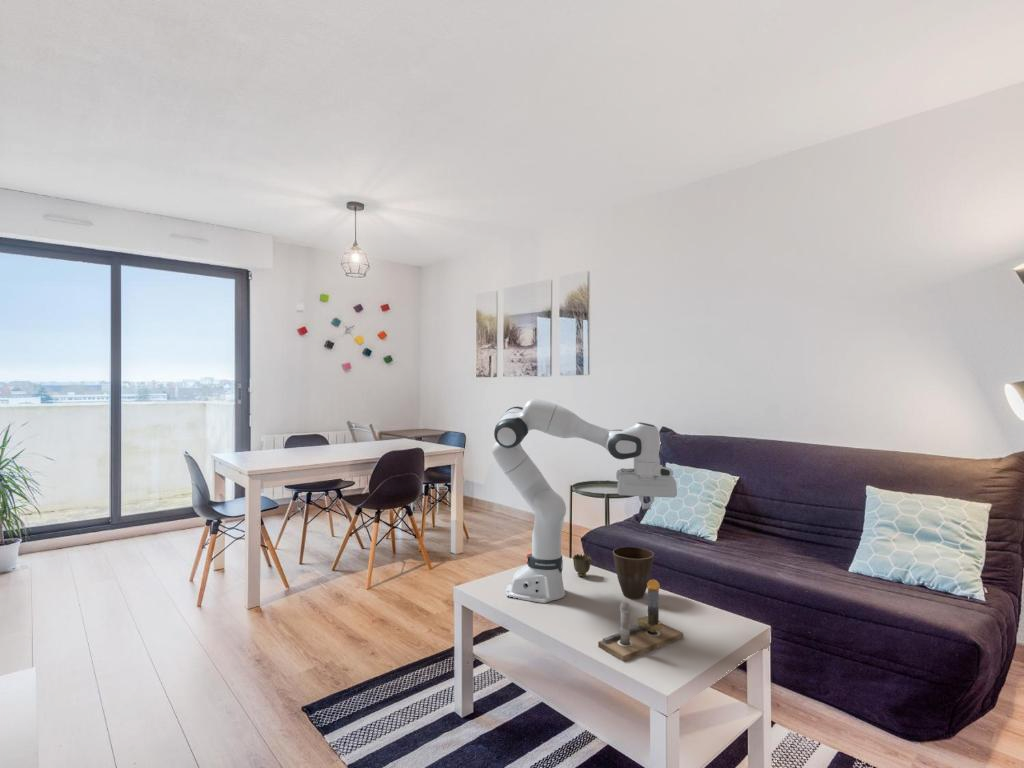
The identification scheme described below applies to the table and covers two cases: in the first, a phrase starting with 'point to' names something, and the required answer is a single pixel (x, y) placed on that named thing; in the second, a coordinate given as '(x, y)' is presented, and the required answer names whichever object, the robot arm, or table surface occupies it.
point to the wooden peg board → (636, 638)
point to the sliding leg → (652, 608)
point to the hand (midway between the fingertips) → (646, 509)
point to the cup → (581, 564)
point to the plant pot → (633, 570)
